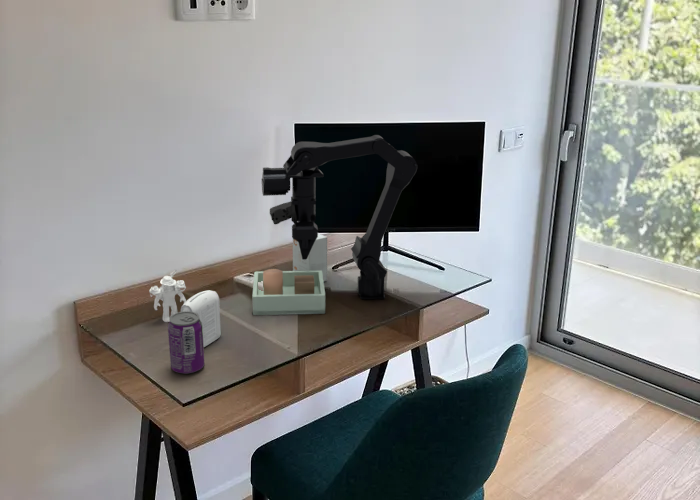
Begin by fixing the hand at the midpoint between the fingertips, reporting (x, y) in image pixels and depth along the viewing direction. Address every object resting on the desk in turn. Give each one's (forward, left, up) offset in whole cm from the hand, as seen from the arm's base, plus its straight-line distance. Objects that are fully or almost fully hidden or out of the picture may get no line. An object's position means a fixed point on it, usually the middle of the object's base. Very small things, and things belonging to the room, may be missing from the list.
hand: (303, 252), depth 186 cm
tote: (+4, +1, -13) cm, 14 cm away
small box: (-2, -13, -13) cm, 19 cm away
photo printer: (+24, +23, -13) cm, 36 cm away
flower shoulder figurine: (+33, +10, -13) cm, 37 cm away
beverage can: (+26, +34, -13) cm, 45 cm away
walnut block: (0, +1, -12) cm, 12 cm away
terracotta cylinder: (+8, +1, -12) cm, 14 cm away
